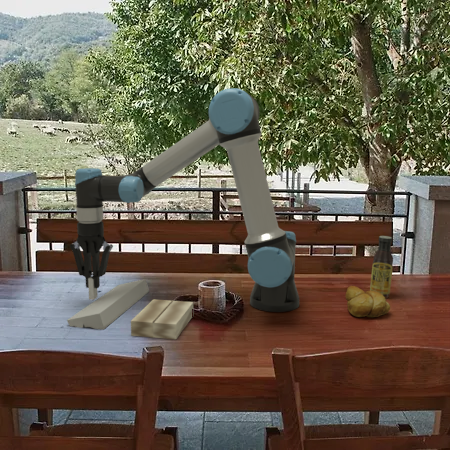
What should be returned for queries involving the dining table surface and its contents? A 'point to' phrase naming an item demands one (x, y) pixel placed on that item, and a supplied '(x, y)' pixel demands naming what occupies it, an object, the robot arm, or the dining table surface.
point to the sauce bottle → (382, 267)
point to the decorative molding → (110, 305)
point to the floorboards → (162, 319)
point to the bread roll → (366, 303)
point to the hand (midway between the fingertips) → (93, 298)
